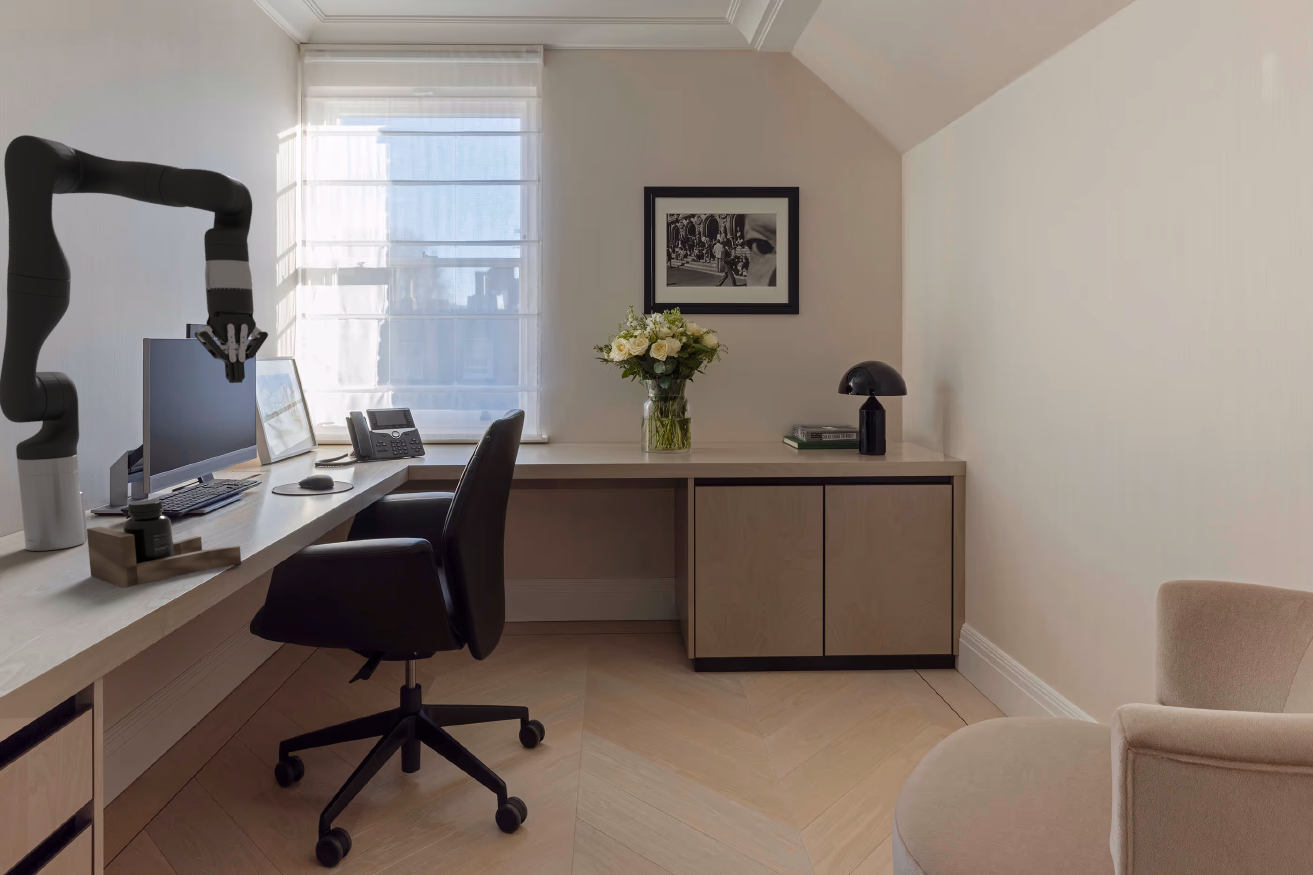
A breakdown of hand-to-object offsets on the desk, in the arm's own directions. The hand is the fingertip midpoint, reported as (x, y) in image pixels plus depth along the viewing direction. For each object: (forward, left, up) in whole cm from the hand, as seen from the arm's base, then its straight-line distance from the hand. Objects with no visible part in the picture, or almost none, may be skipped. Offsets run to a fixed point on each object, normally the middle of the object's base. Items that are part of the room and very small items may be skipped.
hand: (235, 382), depth 151 cm
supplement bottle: (+17, -8, -31) cm, 36 cm away
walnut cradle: (+15, -6, -31) cm, 35 cm away
